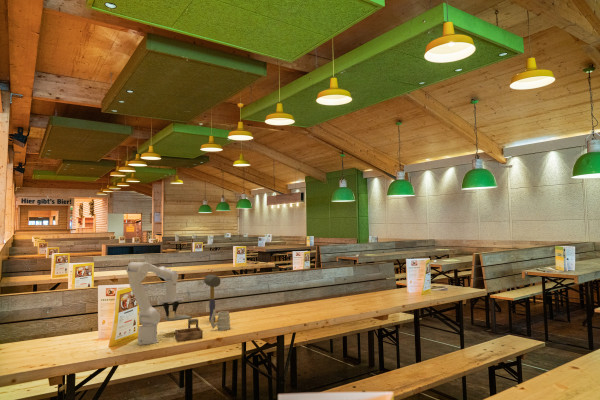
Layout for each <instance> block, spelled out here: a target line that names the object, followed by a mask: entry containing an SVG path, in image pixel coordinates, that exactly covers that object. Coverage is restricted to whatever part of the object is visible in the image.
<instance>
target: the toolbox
mask: <svg viewBox="0 0 600 400" xmlns="http://www.w3.org/2000/svg"><path fill="white" fill-rule="evenodd" d="M187 320H188V319H187ZM194 321H196V322H197V324H195V327H191V324H190V322H194ZM187 325H188V326H187V328H180V329H175V331H174V335H175V336H174V337H175V339H176V341H177V342H178V343H180V342H186V341H187V342H188V341H195V340H202V338H203V335H204V334H203V330H202V329H201V327H199V319H198V318H192V319H189V320H188V321H187Z"/></svg>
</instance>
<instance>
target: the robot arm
mask: <svg viewBox="0 0 600 400" xmlns="http://www.w3.org/2000/svg"><path fill="white" fill-rule="evenodd" d="M125 272H126V274H127V275H128V285H129V286H130V289H131V291H132V293H133V296H134V299H135V301H136V303H137V306H138V307H139V312H138V319H139V320H138V321H139V323H140V324H141V325H139V326H138V328H137V330H138V331H137V344H138V346H143V345H150V344H156V343H157V344H158V343H159V340H158V325H159V323H160V321H161V314H160V313H159V312H158V310H157V309H156V308H155V307H153V306H152V305H151V302H150V300H149V296H148V294H147V292H146V290H145V288H144V285H143V283H142V281H144V280H145V278H146V277H147V274H148V273H149V272H150V273H153V274H155V275H156V277H158V278H161V279H163V280H164V281H165V299H160V300H157V304H156V305H158V306H160V305H162V307H163V309H164V311H165V315H166V316H165V317H169V311H170V304H172V311H175V314H176V312H177V309H178V307H179V306H180V303H181V302H182V303H183V302H184V301H185V299H184V297H178V298H177V283H178V280H179V273H178V272H177V270H172V269H171V268H167V267H166V266H163V265H162V266H159V267H158V266H156V265H154V264H151V263H150V262H146V261H144V262H143V261H142V262H139V261H137V262H135V261H131V262H129V263H128V265H127V268H126V270H125Z"/></svg>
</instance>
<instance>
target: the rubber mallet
mask: <svg viewBox="0 0 600 400" xmlns="http://www.w3.org/2000/svg"><path fill="white" fill-rule="evenodd" d="M204 284H205V285H206V286H208V287H209V290H210V291H209V292H210V294H209V297H210V298H209V302H208V303H209V305H208V308H209V318H208V320H209V323H211V321H210V320H211V317H212V314H213V310H215V311H216V299H215V288H217V287H218V286H219V285H221V278H220V277H219V276H217V275H216V274H215V275H214V274H207V275H206V276H205V277H204ZM215 321H216V317H215V318H214V322H215Z"/></svg>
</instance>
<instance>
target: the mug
mask: <svg viewBox="0 0 600 400" xmlns="http://www.w3.org/2000/svg"><path fill="white" fill-rule="evenodd" d="M217 316H218V317H217ZM216 317H217V322H215V321H214V318H215V319H216ZM230 318H231V316H230V311H227V310H226V311H225V310H223V311H222V310H221V311H218V313H217V311H216V309H215V310H213V314H212V317H211V320H210V321H211V322H210V321H209V322H210V326H211V328H212V329H215V328H216V327H217V330H218V331H228V330H230V329H231V324H230V323H231V322H230V320H231V319H230Z"/></svg>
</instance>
